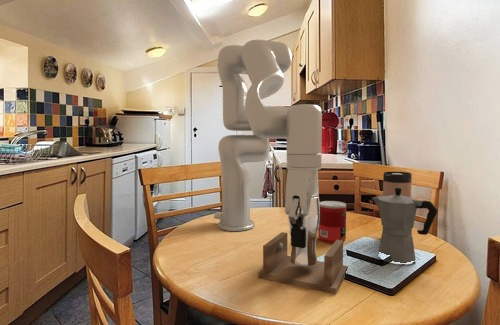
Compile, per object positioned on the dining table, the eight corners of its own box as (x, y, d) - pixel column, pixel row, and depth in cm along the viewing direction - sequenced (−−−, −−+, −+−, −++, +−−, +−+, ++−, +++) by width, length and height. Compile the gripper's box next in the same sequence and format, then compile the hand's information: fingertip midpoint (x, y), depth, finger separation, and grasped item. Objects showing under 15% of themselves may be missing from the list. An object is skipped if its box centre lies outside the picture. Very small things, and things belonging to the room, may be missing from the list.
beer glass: (312, 270, 67) (313, 199, 66) (282, 263, 70) (282, 196, 69) (323, 259, 73) (324, 194, 71) (295, 253, 76) (295, 191, 75)
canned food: (347, 244, 91) (347, 206, 90) (318, 243, 93) (318, 205, 92) (344, 236, 98) (345, 201, 98) (318, 235, 100) (318, 200, 99)
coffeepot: (362, 256, 82) (363, 187, 81) (379, 247, 88) (380, 183, 87) (427, 274, 71) (430, 194, 69) (441, 262, 77) (444, 189, 76)
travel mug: (409, 237, 97) (411, 171, 95) (410, 245, 90) (412, 174, 88) (382, 234, 100) (383, 171, 98) (381, 241, 93) (382, 173, 91)
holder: (258, 277, 70) (257, 245, 70) (278, 258, 81) (278, 231, 80) (336, 294, 62) (336, 258, 62) (347, 271, 73) (348, 240, 72)
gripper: (300, 158, 79) (299, 229, 81) (272, 164, 64) (272, 252, 65) (330, 159, 76) (329, 233, 77) (308, 166, 60) (308, 258, 62)
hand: (303, 241), depth 71 cm, fingers closed on beer glass, 6 cm apart
